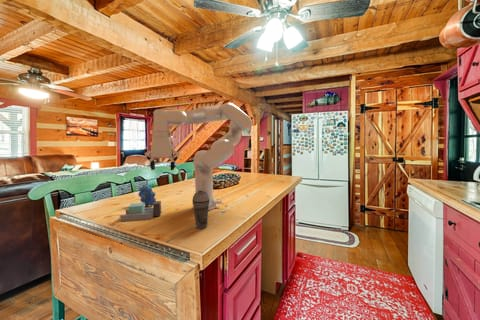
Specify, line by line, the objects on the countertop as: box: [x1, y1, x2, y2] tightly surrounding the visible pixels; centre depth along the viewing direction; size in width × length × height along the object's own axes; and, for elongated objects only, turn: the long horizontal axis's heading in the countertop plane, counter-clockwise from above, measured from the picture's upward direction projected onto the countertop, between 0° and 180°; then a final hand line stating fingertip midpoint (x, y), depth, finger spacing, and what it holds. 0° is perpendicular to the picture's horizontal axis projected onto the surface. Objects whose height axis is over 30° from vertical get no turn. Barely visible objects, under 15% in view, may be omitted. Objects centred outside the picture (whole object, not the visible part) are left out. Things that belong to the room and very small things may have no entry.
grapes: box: [138, 184, 157, 207], centre depth 128 cm, size 12×7×12 cm, turn 70°
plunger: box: [144, 200, 162, 217], centre depth 112 cm, size 8×5×6 cm, turn 102°
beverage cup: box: [192, 180, 210, 230], centre depth 96 cm, size 7×7×20 cm
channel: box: [119, 207, 154, 222], centre depth 111 cm, size 14×11×3 cm
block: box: [127, 202, 146, 214], centre depth 110 cm, size 6×6×6 cm
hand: (162, 169), depth 113 cm, fingers open, 9 cm apart
